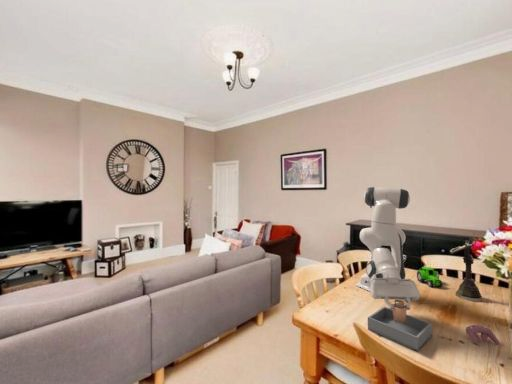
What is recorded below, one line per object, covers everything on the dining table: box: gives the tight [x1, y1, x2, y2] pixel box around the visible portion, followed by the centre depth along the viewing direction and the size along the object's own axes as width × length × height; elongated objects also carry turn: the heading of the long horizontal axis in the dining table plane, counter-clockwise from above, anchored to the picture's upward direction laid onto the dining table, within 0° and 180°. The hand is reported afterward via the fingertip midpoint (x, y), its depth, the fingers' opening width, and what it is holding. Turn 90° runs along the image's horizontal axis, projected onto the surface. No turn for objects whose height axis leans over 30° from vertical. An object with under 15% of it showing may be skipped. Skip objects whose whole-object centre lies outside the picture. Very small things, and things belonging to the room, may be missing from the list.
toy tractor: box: [416, 266, 443, 288], centre depth 163 cm, size 11×16×10 cm
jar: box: [392, 299, 407, 323], centre depth 108 cm, size 5×5×8 cm
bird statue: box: [449, 237, 483, 303], centre depth 143 cm, size 17×13×35 cm
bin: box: [367, 306, 433, 353], centre depth 108 cm, size 20×16×6 cm
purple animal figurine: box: [465, 324, 500, 346], centre depth 102 cm, size 10×5×7 cm, turn 89°
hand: (400, 309), depth 107 cm, fingers closed on jar, 5 cm apart
